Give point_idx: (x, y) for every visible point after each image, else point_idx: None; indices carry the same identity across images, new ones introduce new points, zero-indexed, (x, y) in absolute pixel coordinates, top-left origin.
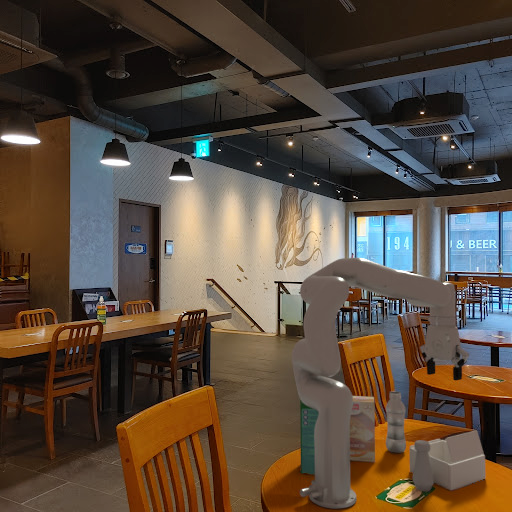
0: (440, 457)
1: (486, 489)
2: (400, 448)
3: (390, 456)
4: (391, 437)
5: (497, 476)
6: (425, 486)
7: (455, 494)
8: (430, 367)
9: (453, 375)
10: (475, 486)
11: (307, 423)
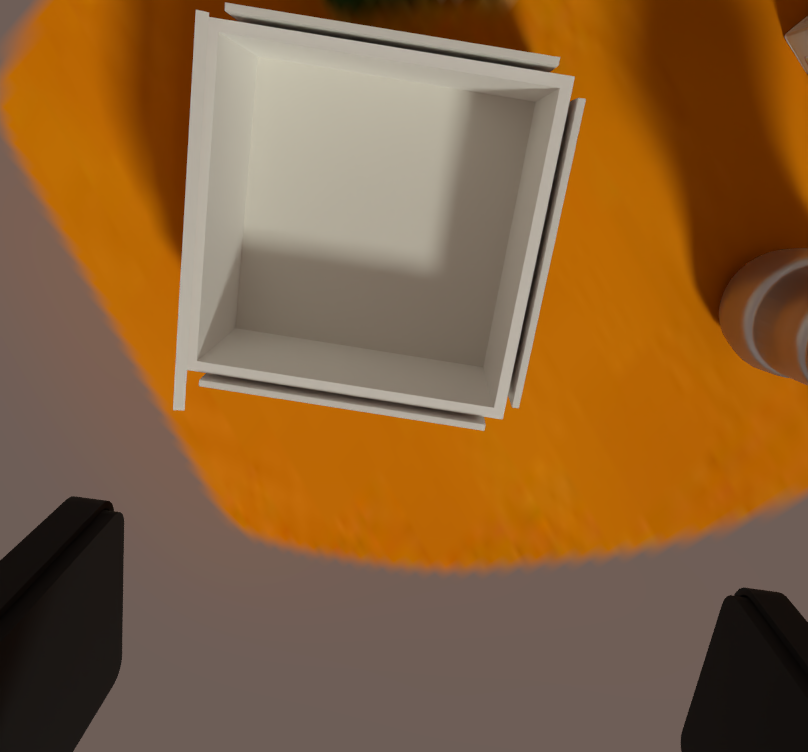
0: (489, 352)
1: (157, 220)
2: (735, 281)
3: (756, 209)
4: None
5: (213, 414)
6: None
7: None
8: (788, 743)
9: (70, 548)
10: None
11: None
